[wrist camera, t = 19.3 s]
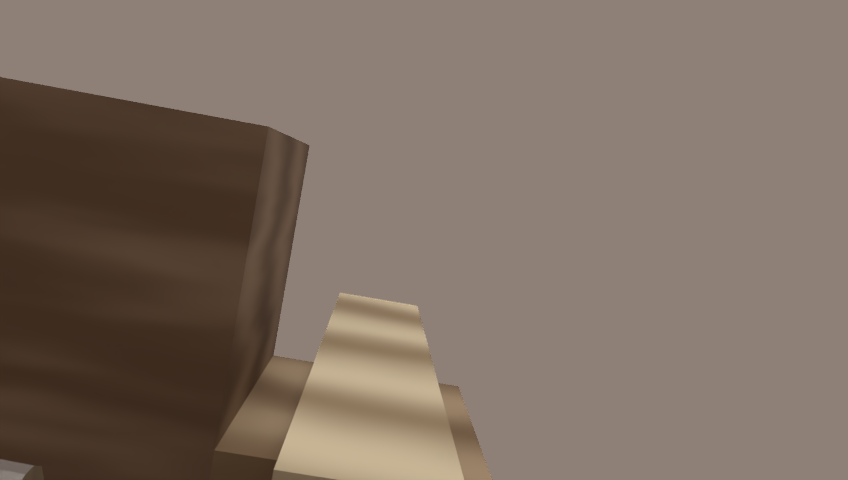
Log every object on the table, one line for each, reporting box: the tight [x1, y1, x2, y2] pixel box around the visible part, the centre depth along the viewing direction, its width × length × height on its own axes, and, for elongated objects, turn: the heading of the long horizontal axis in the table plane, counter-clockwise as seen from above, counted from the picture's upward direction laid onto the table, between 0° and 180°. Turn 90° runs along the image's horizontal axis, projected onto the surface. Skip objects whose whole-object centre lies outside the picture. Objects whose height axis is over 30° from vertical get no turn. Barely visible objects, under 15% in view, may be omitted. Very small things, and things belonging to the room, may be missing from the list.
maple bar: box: [272, 293, 464, 480], centre depth 25 cm, size 22×3×3 cm, turn 3°
